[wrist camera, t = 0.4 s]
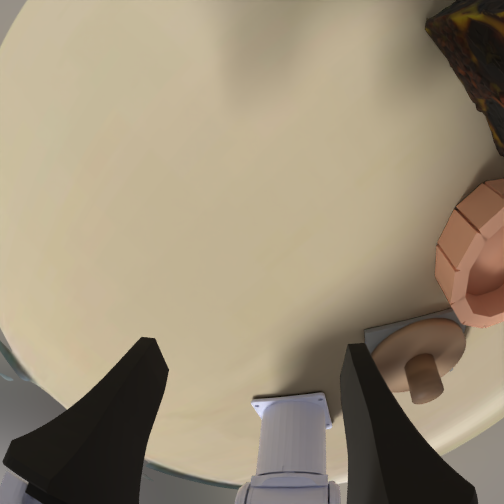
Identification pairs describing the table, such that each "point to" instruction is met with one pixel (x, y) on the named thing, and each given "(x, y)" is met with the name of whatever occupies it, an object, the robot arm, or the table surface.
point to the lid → (420, 357)
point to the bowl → (474, 257)
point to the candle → (476, 54)
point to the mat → (380, 333)
